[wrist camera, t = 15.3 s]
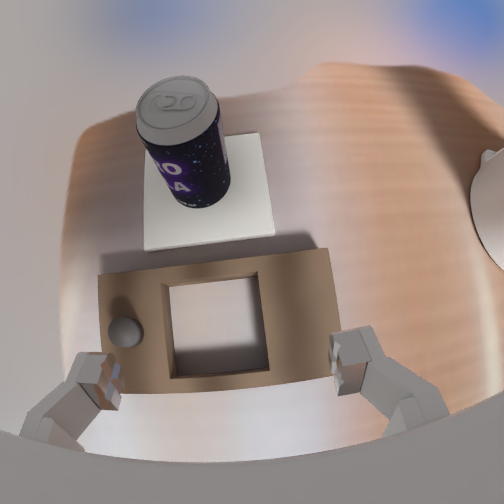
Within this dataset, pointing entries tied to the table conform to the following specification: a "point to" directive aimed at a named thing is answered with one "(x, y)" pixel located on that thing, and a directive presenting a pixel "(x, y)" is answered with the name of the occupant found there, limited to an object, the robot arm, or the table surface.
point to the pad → (215, 216)
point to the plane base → (264, 267)
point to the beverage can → (185, 139)
